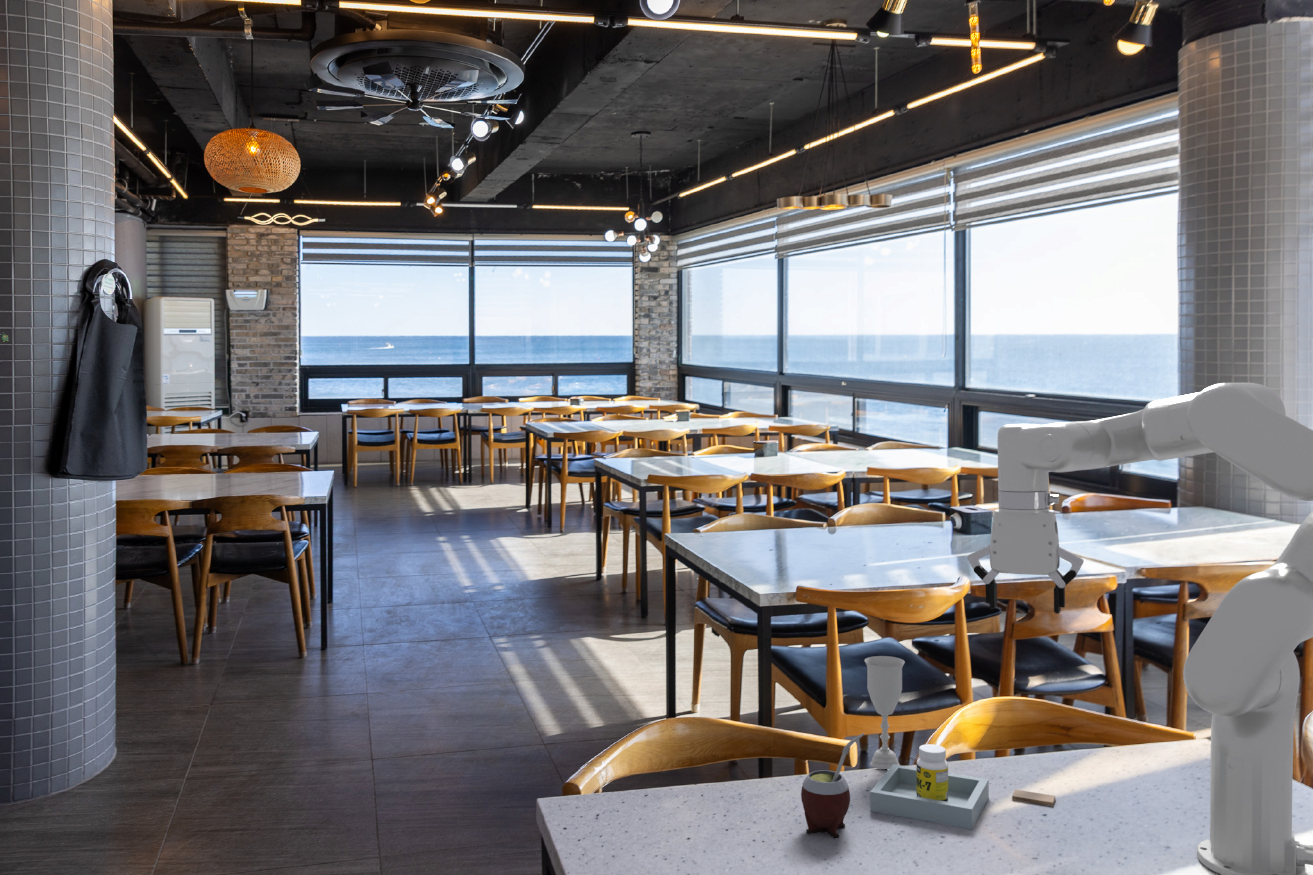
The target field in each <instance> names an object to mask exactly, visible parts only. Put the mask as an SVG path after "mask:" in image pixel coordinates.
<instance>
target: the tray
mask: <svg viewBox="0 0 1313 875" xmlns="http://www.w3.org/2000/svg"><path fill="white" fill-rule="evenodd" d="M916 778H917V767H913V766H906V765H901V764H899V765H895V764H893V765H892V766H891V767H890V769H889V770H886V772H885V773H884V774H883V776H882V777H881V778H880V779H879V780H878V782H877V783H876V784H875V785H874V787H873V788H872V789H871V790H870V792H869V800H870V801H869V805H870V806H869V808H870V809H869V810H870V812H875V813H878V814H879V813H880V814H885V815H891V816H895V817H902V818H908V819H913V820H918V821H922V822H923V821H925V822H929V823H935V824H938V825H939V824H941V825H946V826H951V827H956V828H962V829H967V830H973V829H974V826H975V824H976V823H977V821H978V819H979V817H980V815H981V813H982V812H983V809H984V808H985V806H986V804H987V802H988V800H989V797H990V796H989V795H990V792H989V791H990V790H989V789H990V788H989V786H990V783H989V782H990V779H988V778H984V777H976V776H970V775H965V774H964V775H963V774H957V773H952V772H948V802H945V801H939V800H934V799H928V798H922V797H917V781H916V780H917V779H916Z"/></svg>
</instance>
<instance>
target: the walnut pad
mask: <svg viewBox="0 0 1313 875" xmlns="http://www.w3.org/2000/svg"><path fill="white" fill-rule="evenodd" d="M1012 799H1013V800H1012ZM1011 800H1012V801H1017V802H1023V803H1030V804H1036V805H1041V804H1042V806H1048V807H1054V804H1055V801H1056V795H1054V794H1053V795H1052V794H1045V793H1039V792H1033V791H1029V790H1028V791H1027V790H1021V789H1014V791H1013V794H1012V796H1011Z"/></svg>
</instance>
